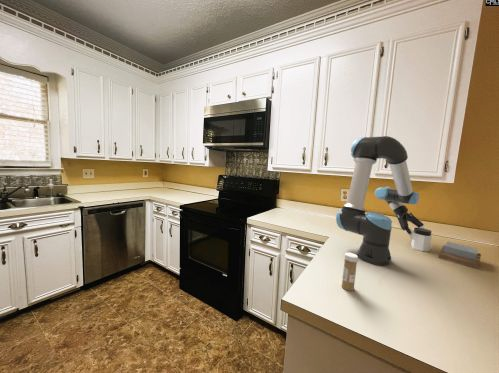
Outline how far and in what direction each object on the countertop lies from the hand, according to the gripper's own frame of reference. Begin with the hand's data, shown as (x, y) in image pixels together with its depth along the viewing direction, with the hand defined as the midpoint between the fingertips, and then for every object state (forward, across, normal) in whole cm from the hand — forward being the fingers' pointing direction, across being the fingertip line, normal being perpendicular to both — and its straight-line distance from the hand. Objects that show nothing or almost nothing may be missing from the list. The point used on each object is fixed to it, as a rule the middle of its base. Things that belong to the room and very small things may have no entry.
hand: (421, 237), depth 128 cm
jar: (+5, +1, -5) cm, 7 cm away
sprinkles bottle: (+14, +79, +5) cm, 81 cm away
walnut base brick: (+17, -3, +7) cm, 18 cm away
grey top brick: (+14, -3, +10) cm, 17 cm away
